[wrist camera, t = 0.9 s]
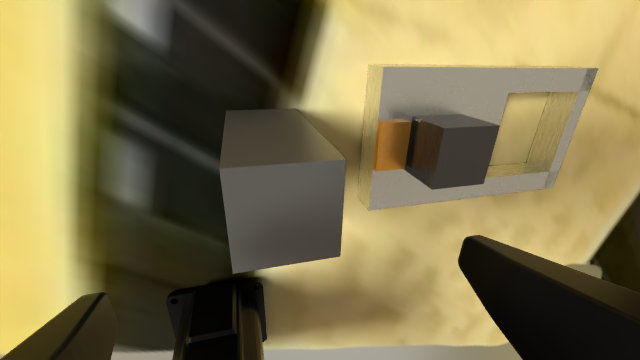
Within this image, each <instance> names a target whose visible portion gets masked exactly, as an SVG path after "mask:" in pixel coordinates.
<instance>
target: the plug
mask: <svg viewBox="0 0 640 360" xmlns="http://www.w3.org/2000/svg"><path fill="white" fill-rule="evenodd" d="M219 169H220V177H221V185H222V192H223V200H224V208H225V215H226V223H227V231H228V238H229V246H230V254H231V262H232V269H233V274H234V273H240V272H246V271H252V270H259V269H265V268H271V267H277V266H284V265H290V264H296V263H302V262H308V261H315V260H321V259H327V258H333V257H339V256H340V252H341V236H342V219H343V203H344V187H345V170H346V159H345V158H344V157H343V156H342V155H341V154H340V153H339V152H338V151H337V150H336V149H335V148H334V147H333V146H332V145H331V144H330V143H329V142H328V141H327V140H326V139H325V138H324V137H323V136H322V135H321V134H320V133H319V132H318V131H317V130H316V129H315V128H314V127H313V126H312V125H311V124H310V123H309V122H308V121H307V120H306V119H305V118H304V117H303V116H302V115H301V114H300V113H299V112H298V111H297V110H296V109H267V110H233V111H226V116H225V125H224V134H223V142H222V151H221V160H220V168H219Z"/></svg>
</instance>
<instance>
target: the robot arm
mask: <svg viewBox="0 0 640 360" xmlns="http://www.w3.org/2000/svg"><path fill="white" fill-rule="evenodd" d="M458 264H459V267H460V269H461V271H462V272H463V274H464V275H465V277H466V279H467V280H468V282H469V283H470V285H471V287H472V288H473V290H474V291H475V293H476V295H477V296H478V298H479V299H480V301H481V302H482V304H483V306H484V307H485V309H486V310H487V312H488V313H489V315H490V316H491V318H492V319H493V321H494V322H495V323H496V325H497V326H498V327H499V329H500V330H501V331H502V333H503V334H504V335H505V337H506V338H507V339H508V341H509V342H510V343H511V345H512V346H513V347H514V349H515V350H516V351H517V353H518V354H519V355H520V357H521V358H522V359H523V360H640V293H637V292H635V291H632V290H629V289H626V288H624V287H621V286H618V285H615V284H613V283H610V282H607V281H605V280H602V279H599V278H596V277H593V276H591V275H588V274H585V273H583V272H580V271H577V270H574V269H572V268H569V267H566V266H563V265H561V264H558V263H555V262H552V261H550V260H547V259H544V258H541V257H539V256H536V255H533V254H531V253H528V252H525V251H522V250H520V249H517V248H514V247H511V246H509V245H506V244H503V243H500V242H498V241H495V240H492V239H489V238H487V237H484V236H481V235H475V236H468V237H466V238H465V239H464V241H463V244H462V248H461V251H460V255H459V258H458ZM255 284H258V285H257V286H253V285H255ZM173 299H177V300H173ZM166 303H167V307H168V310H169V314H170V318H171V322H172V326H173V329H174V333H175V337H176V343H175V348H174V354H173V359H172V360H264V353H263V343H262V342H264V341H265V340H266V339H267V334H266V321H265V308H264V296H263V284H262V280H261V279H259V278H252V279H247V280H241V281H235V282H229V283H223V284H217V285H211V286H205V287H199V288H193V289H187V290H181V291H175V292H171V293H170V294H169V295H168V297H167V302H166ZM117 328H118V322H117V317H116V314H115V312H114V309H113V306H112V303H111V300H110V298H109V296H108V294H107V293H104V292H101V293H95V294H88V295H84V296H81V297H80V298H78V299H77V300H76V301H75V302H73V303H72V304H71V305H69V306H68V307H67V308H66V309H64V310H63V311H62V312H60V313H59V314H58V315H57V316H55V317H54V318H53V319H51V320H50V321H49V322H47V323H46V324H45V325H44V326H42V327H41V328H40V329H38V330H37V331H36V332H35V333H33V334H32V335H31V336H29V337H28V338H27V339H26V340H24V341H23V342H22V343H20V344H19V345H18V346H17V347H15V348H14V349H13V350H11V351H10V352H9V353H8V354H6V355H5V356H4V357H2V358H1V359H0V360H111V355H112V351H113V347H114V342H115V338H116V334H117Z"/></svg>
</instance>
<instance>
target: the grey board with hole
mask: <svg viewBox="0 0 640 360" xmlns="http://www.w3.org/2000/svg"><path fill="white" fill-rule="evenodd" d="M597 71H598V68H583V67H554V66H446V65H368V77H367V89H366V101H365V113H364V125H363V137H362V149H361V161H360V173H359V185H358V198H359V199H360V201H361V202H362V203H363V204H364V206H365V207H366V208H367V209H368V210H377V209H386V208H394V207H402V206H410V205H418V204H426V203H434V202H442V201H450V200H458V199H466V198H474V197H483V196H491V195H499V194H507V193H515V192H523V191H531V190H539V189H547V188H552V187H553V185H554V182H555V180H556V177H557V174H558V172H559V169H560V167H561V164H562V162H563V159H564V156H565V154H566V151H567V149H568V146H569V143H570V141H571V138H572V136H573V133H574V130H575V128H576V125H577V123H578V120H579V117H580V115H581V112H582V110H583V107H584V105H585V102H586V99H587V97H588V94H589V92H590V89H591V86H592V84H593V81H594V79H595V76H596V73H597ZM527 92H550V93H549V96H548V99H547V102H546V105H545V108H544V111H543V114H542V117H541V120H540V123H539V126H538V129H537V132H536V135H535V138H534V141H533V144H532V147H531V150H530V153H529V156H528V159H527V162H526V163H517V164H507V165H496V166H489V163H490V159H491V156H492V152H493V149H494V145H495V141H496V138H497V134H498V131H499V127H500V123H501V120H502V116H503V113H504V109H505V105H506V102H507V98H508V95H509V93H527Z"/></svg>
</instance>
